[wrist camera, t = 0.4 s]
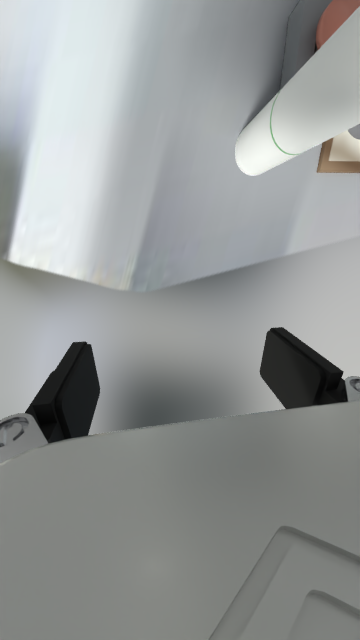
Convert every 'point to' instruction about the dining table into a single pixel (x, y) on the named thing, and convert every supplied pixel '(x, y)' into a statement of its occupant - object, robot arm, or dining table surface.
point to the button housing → (301, 36)
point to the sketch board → (341, 153)
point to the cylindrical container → (307, 105)
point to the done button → (333, 19)
